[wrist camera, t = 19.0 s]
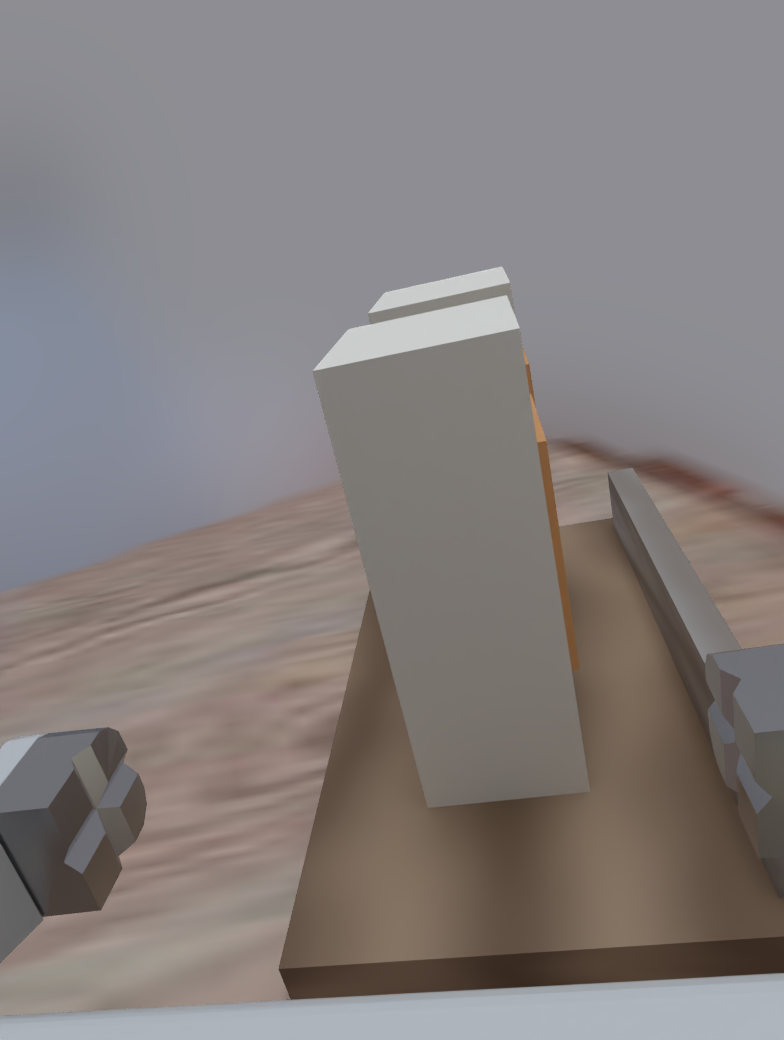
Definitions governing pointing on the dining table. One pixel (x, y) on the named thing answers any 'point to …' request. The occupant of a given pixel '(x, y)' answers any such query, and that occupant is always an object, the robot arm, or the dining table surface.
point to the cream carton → (460, 548)
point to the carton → (445, 298)
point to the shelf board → (548, 814)
